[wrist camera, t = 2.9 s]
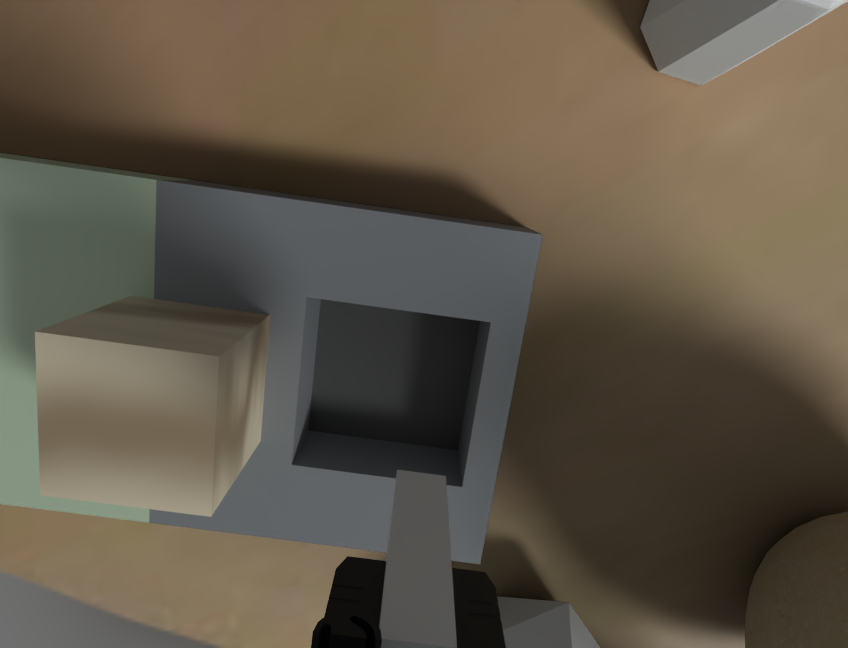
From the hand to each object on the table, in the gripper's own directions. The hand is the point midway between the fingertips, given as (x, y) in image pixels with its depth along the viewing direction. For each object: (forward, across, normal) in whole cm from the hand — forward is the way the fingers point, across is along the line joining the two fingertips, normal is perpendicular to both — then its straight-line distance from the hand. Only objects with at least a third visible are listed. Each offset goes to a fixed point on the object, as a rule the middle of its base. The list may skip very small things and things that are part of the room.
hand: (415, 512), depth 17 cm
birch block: (+8, -10, 0) cm, 13 cm away
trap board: (+12, -15, 0) cm, 19 cm away
